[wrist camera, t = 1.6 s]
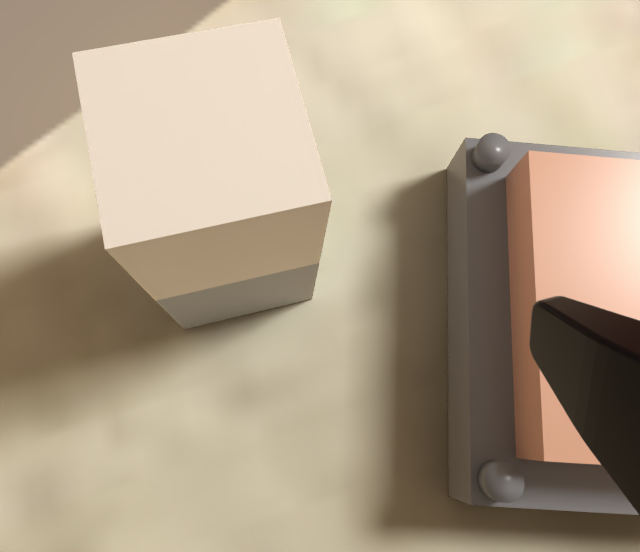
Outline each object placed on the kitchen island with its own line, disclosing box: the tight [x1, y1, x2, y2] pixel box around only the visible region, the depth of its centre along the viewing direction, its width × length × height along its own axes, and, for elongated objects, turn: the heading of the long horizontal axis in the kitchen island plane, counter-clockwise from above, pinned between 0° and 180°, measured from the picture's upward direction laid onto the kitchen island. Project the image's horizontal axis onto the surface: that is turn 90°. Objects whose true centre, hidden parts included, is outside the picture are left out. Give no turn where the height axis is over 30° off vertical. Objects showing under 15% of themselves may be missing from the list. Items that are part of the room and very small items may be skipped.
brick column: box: [72, 17, 332, 329], centre depth 17 cm, size 5×5×10 cm
